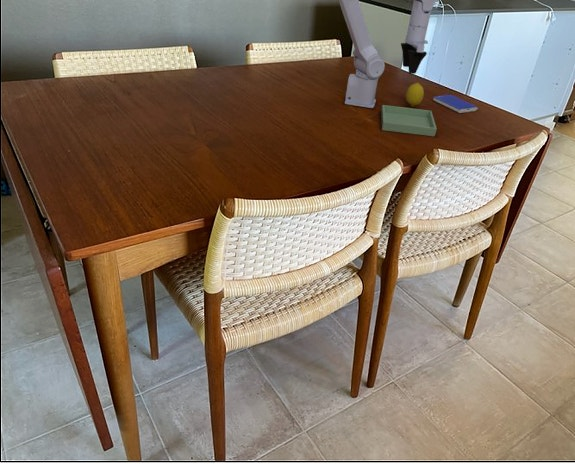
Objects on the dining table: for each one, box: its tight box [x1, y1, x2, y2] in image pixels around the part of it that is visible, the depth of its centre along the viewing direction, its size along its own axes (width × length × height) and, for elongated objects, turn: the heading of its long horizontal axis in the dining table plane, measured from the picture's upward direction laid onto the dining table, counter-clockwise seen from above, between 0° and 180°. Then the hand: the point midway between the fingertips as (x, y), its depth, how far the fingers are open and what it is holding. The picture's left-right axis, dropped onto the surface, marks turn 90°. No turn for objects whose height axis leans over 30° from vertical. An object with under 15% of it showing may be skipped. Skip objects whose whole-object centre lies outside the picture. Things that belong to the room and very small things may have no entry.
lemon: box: [405, 82, 425, 108], centre depth 152 cm, size 6×6×8 cm
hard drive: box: [432, 94, 478, 114], centre depth 158 cm, size 2×8×12 cm
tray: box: [380, 104, 438, 137], centre depth 141 cm, size 15×15×2 cm
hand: (409, 69), depth 153 cm, fingers open, 7 cm apart
